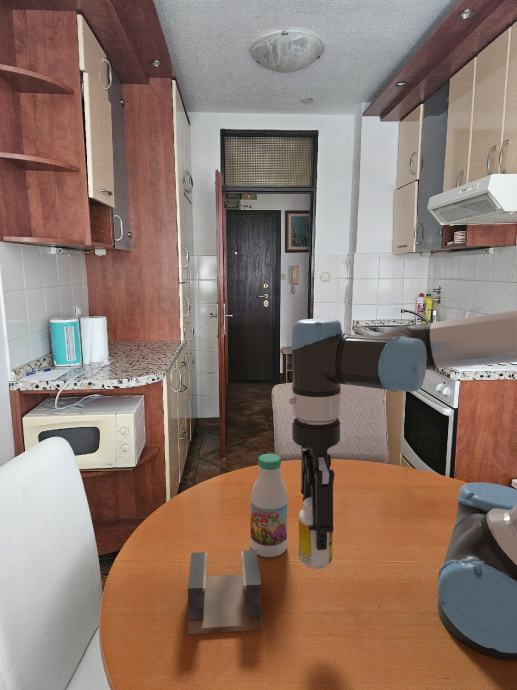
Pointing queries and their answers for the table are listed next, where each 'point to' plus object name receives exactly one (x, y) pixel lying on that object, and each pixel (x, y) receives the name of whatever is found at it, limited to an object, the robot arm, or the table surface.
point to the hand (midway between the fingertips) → (315, 551)
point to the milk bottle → (269, 509)
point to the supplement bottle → (308, 535)
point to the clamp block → (224, 597)
